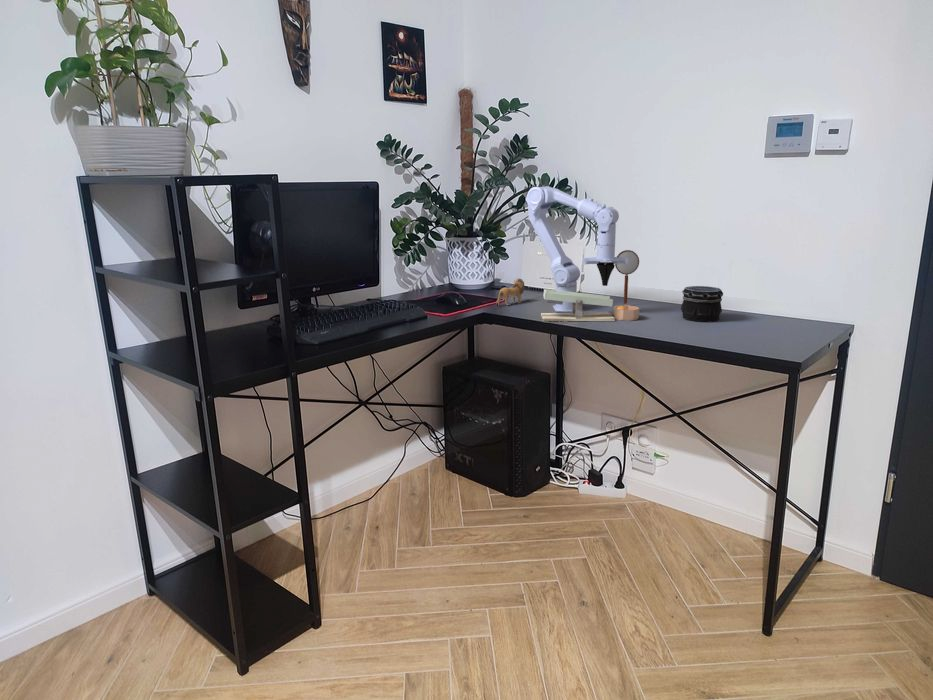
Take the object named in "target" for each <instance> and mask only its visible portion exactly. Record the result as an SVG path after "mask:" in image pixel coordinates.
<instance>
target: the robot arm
mask: <svg viewBox="0 0 933 700" xmlns="http://www.w3.org/2000/svg"><path fill="white" fill-rule="evenodd" d="M525 202H526V203H527V212H528V213H527V215H528V219H529V221H530V223H531V226H532V227H533V229H534V231H535V233H536V235H537V237H538V239H539V241H540V243H541V244H542V246H543V248H544V250H545V252H546V254H547V257H548V258H549V260H550V262H551V264H550V270H551V273H552V280H553V281H554V283H555V290H557V291H566V292H575V293H578V292H577V291H578V289H577V288H578V285H577V283H578V282H577V281H578V280H579V278H580V276H581V270H580V268H579V267H578V266H577V265H576V264H575V263H574V262H573V260H572V259H571V258H570V257H568V256H567V254H566V253H565V252H564V249H563V247H562V246H561V244H560V242H559V240H558V238H557V236H556V233H555V232H554V231H553V228H552V226H551V224H550V223H549V221H548V219H547V217H546V216H547V215H546V214H547V212H548V210H549V208H550V207H551V206H552V204H553V203H559V204H562V205H564V206H567V207H570V208H573V209H575V210H577V213H578V215H579V216H582V217H585V218H586V219H589V220H591V221H593V222H596V224H597V226H598V227H597V228H598V229H597V246H596V247H597V248H596V249H597V251H596V256H594V257H583V261H582V262H583V265H596V267H597V269H598V272H599V274H600V279H601V285H602V286H604V287H607V286H608V284H609V280H610V277H611V275H612V272H613V270H614V269H615V267H616V266H615V264H628V258H627V257H617V256H616V257H615V253H616V234H617V233H616V228H617V227H616V226H617V222H618V220H619V219H620V215H619V212H618V210H617V209H616V208H614V207H613V206H608V207H607V205H606V204H605V203H602V204H601V203H599V202H596V201H594V199H593V198H591V197H589V198H583V199H580V198H578V197H575V196H573V195H571V194H569V193H566V192H565V191H562V190H560V189H558V188H556V187H552V186H550V185H549V186H548V185H547V186H533V187H531V188H530V189H529V190H528V192H527V195H526V198H525ZM572 304H573V302H564V301H563V304H562V305H561V304H553V305H552V308H553V309H554V311H555V312H554V313H572Z"/></svg>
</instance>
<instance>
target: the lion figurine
mask: <svg viewBox="0 0 933 700" xmlns="http://www.w3.org/2000/svg"><path fill="white" fill-rule="evenodd" d="M513 282H514V283H513V286H511V287H507V286H506V287H502V288H500V290H499V293H498V296H497V297H498V298H497V300H496V304H497V303H498V306H497V307H500V306H501V300H502V299H504V303H505V304H506V306H507V305H510V306H511V304H509V303H508V300H509V298H512V300H511V303H512V302H515V303H516V297H517V303H521V304H522V302H521V298H522V295H523V293H524V291H525V282H524V280H523V279H522V278H516V279H515V280H514V281H513Z"/></svg>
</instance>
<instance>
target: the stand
mask: <svg viewBox="0 0 933 700" xmlns="http://www.w3.org/2000/svg"><path fill="white" fill-rule="evenodd" d="M540 317H541V320H542V319H543V320H542V322H543V321H559V322H558V323H561V322H560V321H564V322H563V323H568V322H567V321H616V319H615V318H614V317H613V314H612V313H610V312H607V311H605V312H583V300H576V303H574V302H573V304H572V312H549V313H548V312H541V313H540ZM565 321H566V322H565Z"/></svg>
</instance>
